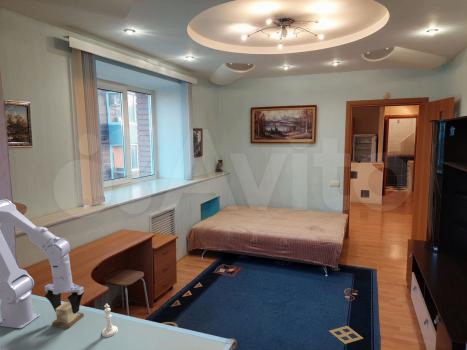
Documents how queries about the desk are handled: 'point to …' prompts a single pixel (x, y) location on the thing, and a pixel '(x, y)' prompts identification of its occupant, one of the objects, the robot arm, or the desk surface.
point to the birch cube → (65, 312)
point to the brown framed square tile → (68, 324)
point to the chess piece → (109, 324)
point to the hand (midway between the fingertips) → (67, 311)
